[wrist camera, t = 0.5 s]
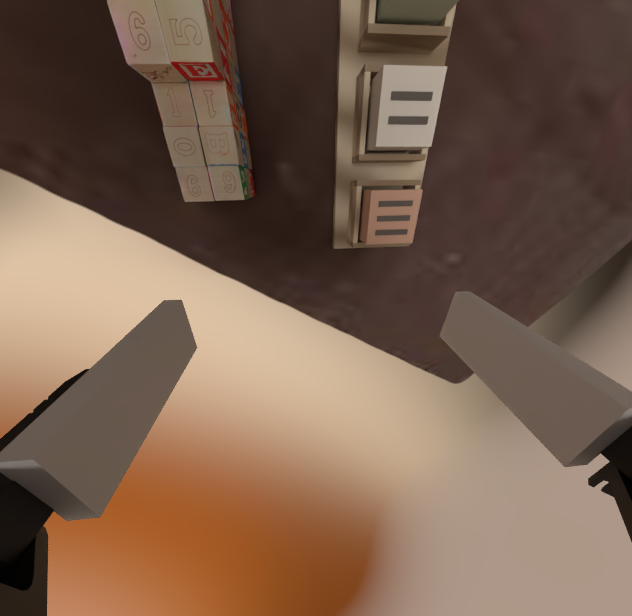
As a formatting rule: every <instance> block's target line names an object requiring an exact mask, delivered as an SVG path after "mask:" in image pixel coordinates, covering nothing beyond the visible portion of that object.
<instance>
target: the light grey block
mask: <svg viewBox="0 0 632 616" xmlns="http://www.w3.org/2000/svg"><path fill="white" fill-rule="evenodd" d="M458 1H459V0H378V9H377V22H376V23H398V24H423V25H437V24H438V23H439V22H440V21H441V20H442V19H443V18H444V17H445V15H446V14H447V13H448V12H449V11H450V10H451V9H452V8H453V7H454V6H455V4H456V3H457V2H458Z"/></svg>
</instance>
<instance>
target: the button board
mask: <svg viewBox="0 0 632 616" xmlns="http://www.w3.org/2000/svg"><path fill="white" fill-rule="evenodd" d="M455 8H456V4H455V6H454V7H453V8H452V9H451V10H450V11H449V12H448V13H447V14H446V15H445V17H444V18H443V19H442V20H441V21H440V22H439V23H438V24H437V25H423V24H398V23H376V22H377V9H378V0H338V41H337V83H336V124H335V165H334V207H333V248H334V249H342V248H369V247H397V246H410V243H395V244H367V245H366V244H365V243H364V242H363V241H361V240H360V239H359V232H360V220H361V207H362V195H363V190H373V189H421V185H422V179H423V174H424V169H425V164H426V159H427V154H428V148H429V147H428V148H424V149H420V150H416V151H366V145H367V133H368V121H369V108H370V96H371V84H372V80H373V78H374V77H375V76H376V74H377V73H378V72H379V70H380V69H381V68H382V67H383V65H411V66H444V65H445V60H446V55H447V50H448V45H449V40H450V34H451V29H452V24H453V19H454V14H455Z"/></svg>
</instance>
